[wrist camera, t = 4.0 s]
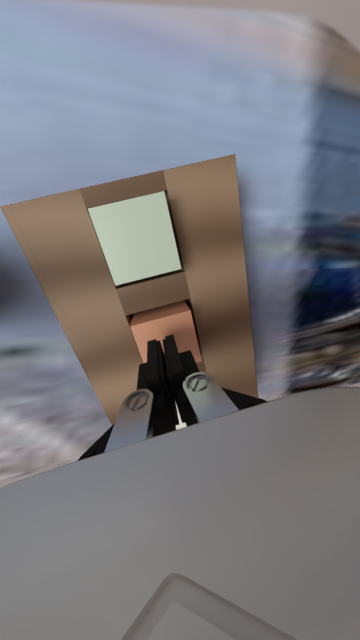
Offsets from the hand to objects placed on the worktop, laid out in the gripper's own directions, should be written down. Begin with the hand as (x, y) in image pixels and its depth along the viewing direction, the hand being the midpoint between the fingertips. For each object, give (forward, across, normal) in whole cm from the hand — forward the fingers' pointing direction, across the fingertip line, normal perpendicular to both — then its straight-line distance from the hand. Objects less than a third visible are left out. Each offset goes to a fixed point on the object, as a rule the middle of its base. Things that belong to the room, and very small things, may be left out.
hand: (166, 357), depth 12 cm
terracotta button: (+5, 0, 0) cm, 5 cm away
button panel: (+7, 0, 0) cm, 7 cm away
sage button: (+5, 0, -7) cm, 8 cm away
